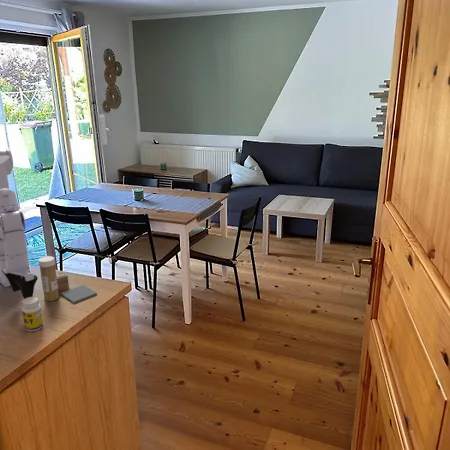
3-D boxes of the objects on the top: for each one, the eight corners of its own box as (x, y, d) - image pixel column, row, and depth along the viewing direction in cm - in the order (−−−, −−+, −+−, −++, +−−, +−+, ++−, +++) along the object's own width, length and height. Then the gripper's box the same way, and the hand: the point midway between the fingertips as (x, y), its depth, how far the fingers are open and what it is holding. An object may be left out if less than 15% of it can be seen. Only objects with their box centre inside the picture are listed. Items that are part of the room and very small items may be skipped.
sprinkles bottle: (61, 299, 131) (56, 259, 127) (45, 303, 129) (39, 262, 124) (57, 293, 135) (52, 254, 130) (42, 297, 132) (36, 257, 128)
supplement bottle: (20, 329, 115) (16, 302, 112) (33, 321, 119) (29, 294, 117) (34, 333, 114) (30, 305, 111) (47, 324, 118) (43, 297, 115)
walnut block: (49, 287, 138) (47, 274, 137) (62, 283, 142) (60, 270, 140) (55, 292, 136) (54, 279, 134) (68, 287, 139) (67, 274, 137)
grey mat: (60, 294, 134) (60, 293, 134) (83, 286, 140) (83, 284, 139) (73, 303, 129) (73, 301, 129) (96, 294, 134) (96, 292, 134)
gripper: (-9, 249, 122) (-2, 291, 126) (12, 263, 113) (19, 308, 117) (16, 242, 127) (22, 283, 131) (38, 256, 118) (44, 299, 122)
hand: (22, 294), depth 125 cm, fingers open, 7 cm apart
